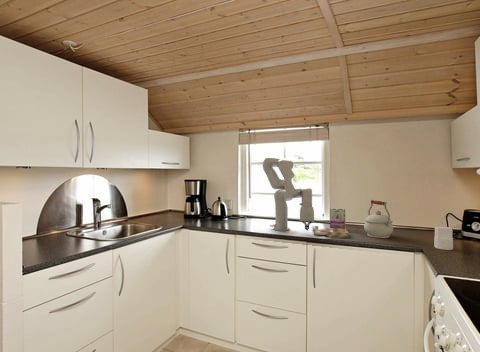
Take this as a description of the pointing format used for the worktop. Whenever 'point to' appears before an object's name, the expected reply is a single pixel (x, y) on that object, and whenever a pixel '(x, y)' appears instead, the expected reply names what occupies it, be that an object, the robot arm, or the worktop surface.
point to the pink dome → (324, 230)
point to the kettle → (378, 223)
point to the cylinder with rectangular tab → (443, 238)
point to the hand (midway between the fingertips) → (307, 230)
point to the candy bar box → (337, 218)
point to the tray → (317, 231)
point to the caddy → (338, 233)
